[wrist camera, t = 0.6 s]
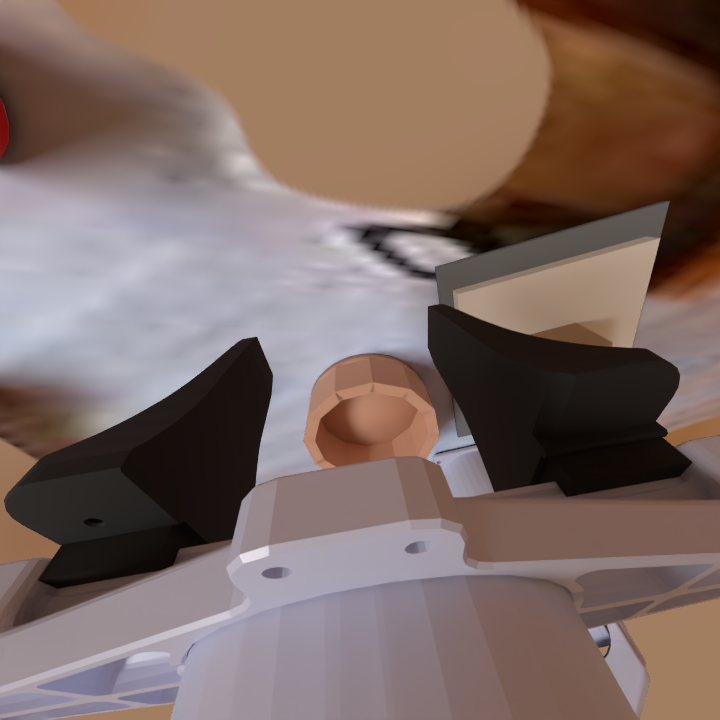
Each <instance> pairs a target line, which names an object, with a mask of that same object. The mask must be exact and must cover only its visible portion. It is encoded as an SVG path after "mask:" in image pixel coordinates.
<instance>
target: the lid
mask: <svg viewBox="0 0 720 720" xmlns="http://www.w3.org/2000/svg"><path fill="white" fill-rule="evenodd" d="M659 241H660V238H655V237H648V236H646V237H643V238H639V239H635V240H632V241H628V242H625V243H621V244H617V245H614V246H610V247H607V248H603V249H600V250H596V251H592V252H589V253H585V254H582V255H578V256H574V257H571V258H567V259H564V260H560V261H556V262H553V263H549V264H546V265H542V266H539V267H535V268H531V269H528V270H524V271H521V272H517V273H513V274H510V275H506V276H503V277H499V278H495V279H492V280H488V281H485V282H481V283H477V284H474V285H470V286H467V287H463V288H460V289H456V290H453V298H454V308H455V309H458V310H460V311H462V312H465V313H467V314H469V315H472V316H474V317H476V318H479V319H481V320H484V321H486V322H489V323H492V324H495V325H497V326H500V327H503V328H506V329H509V330H513V331H517V332H520V333H524V334H528V335H532V336H537V337H541V338H547V339H552V340H557V341H564V342H570V343H578V344H587V345H596V346H609V347H626V348H632V345H633V342H634V338H635V334H636V330H637V326H638V322H639V318H640V315H641V311H642V307H643V303H644V299H645V295H646V291H647V288H648V284H649V280H650V276H651V272H652V268H653V264H654V261H655V257H656V253H657V249H658V245H659Z"/></svg>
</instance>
